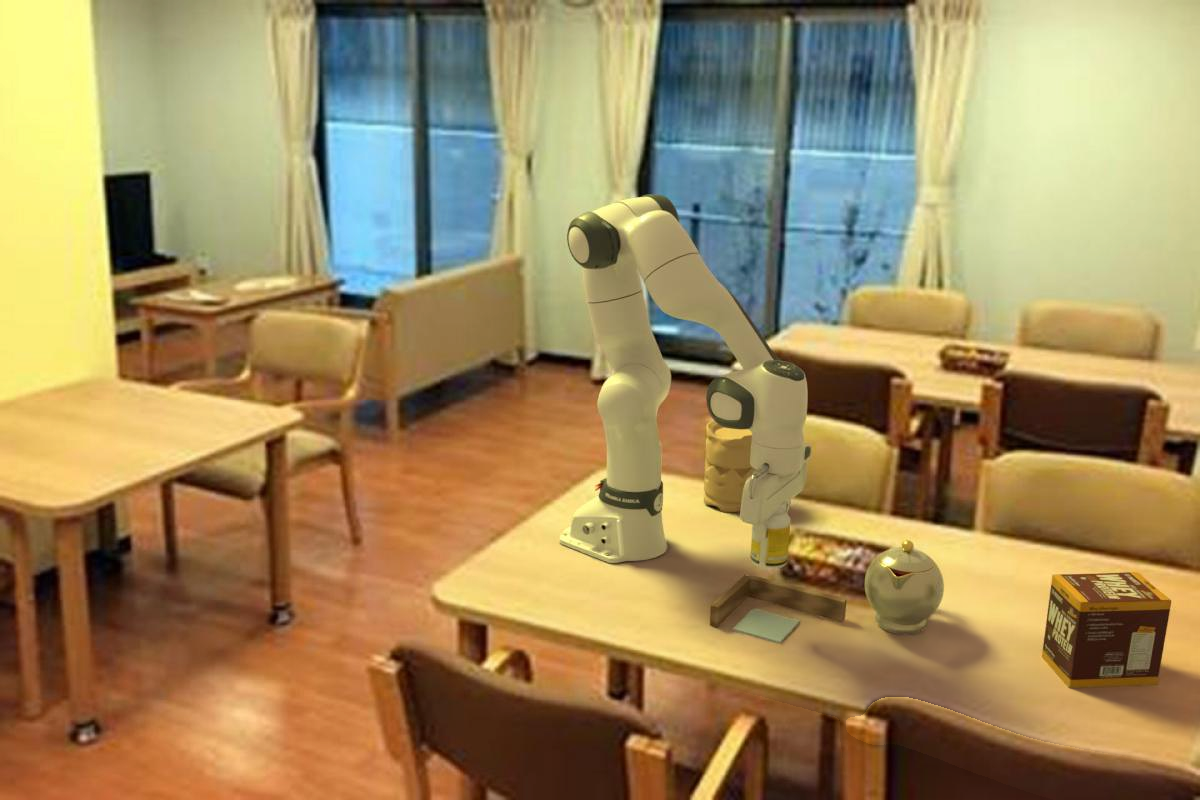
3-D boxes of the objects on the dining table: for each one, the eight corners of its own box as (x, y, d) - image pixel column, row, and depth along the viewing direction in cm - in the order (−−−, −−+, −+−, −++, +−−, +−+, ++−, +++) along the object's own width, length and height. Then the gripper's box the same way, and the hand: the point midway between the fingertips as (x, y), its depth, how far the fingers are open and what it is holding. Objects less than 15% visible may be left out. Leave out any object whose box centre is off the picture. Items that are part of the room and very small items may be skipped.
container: (745, 517, 258) (749, 439, 253) (694, 505, 264) (696, 429, 259) (768, 498, 268) (772, 423, 263) (718, 488, 274) (721, 414, 269)
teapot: (930, 651, 202) (939, 564, 198) (852, 634, 208) (859, 549, 203) (949, 608, 218) (958, 526, 213) (876, 593, 224) (883, 513, 219)
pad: (732, 630, 209) (732, 628, 209) (753, 610, 216) (753, 608, 216) (780, 643, 205) (780, 641, 204) (799, 622, 212) (799, 620, 212)
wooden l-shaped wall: (709, 625, 211) (710, 605, 209) (745, 592, 223) (746, 573, 222) (814, 655, 201) (815, 633, 200) (845, 618, 214) (846, 598, 212)
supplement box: (1039, 656, 201) (1051, 573, 197) (1126, 653, 203) (1139, 570, 198) (1067, 688, 192) (1080, 601, 187) (1158, 685, 193) (1173, 599, 188)
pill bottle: (794, 563, 207) (800, 502, 203) (770, 573, 202) (775, 511, 199) (766, 551, 211) (771, 491, 208) (742, 560, 207) (746, 499, 204)
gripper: (769, 478, 191) (763, 556, 195) (815, 443, 208) (809, 516, 212) (733, 470, 194) (728, 547, 198) (782, 436, 211) (776, 508, 215)
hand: (770, 530), depth 205 cm, fingers closed on pill bottle, 6 cm apart
